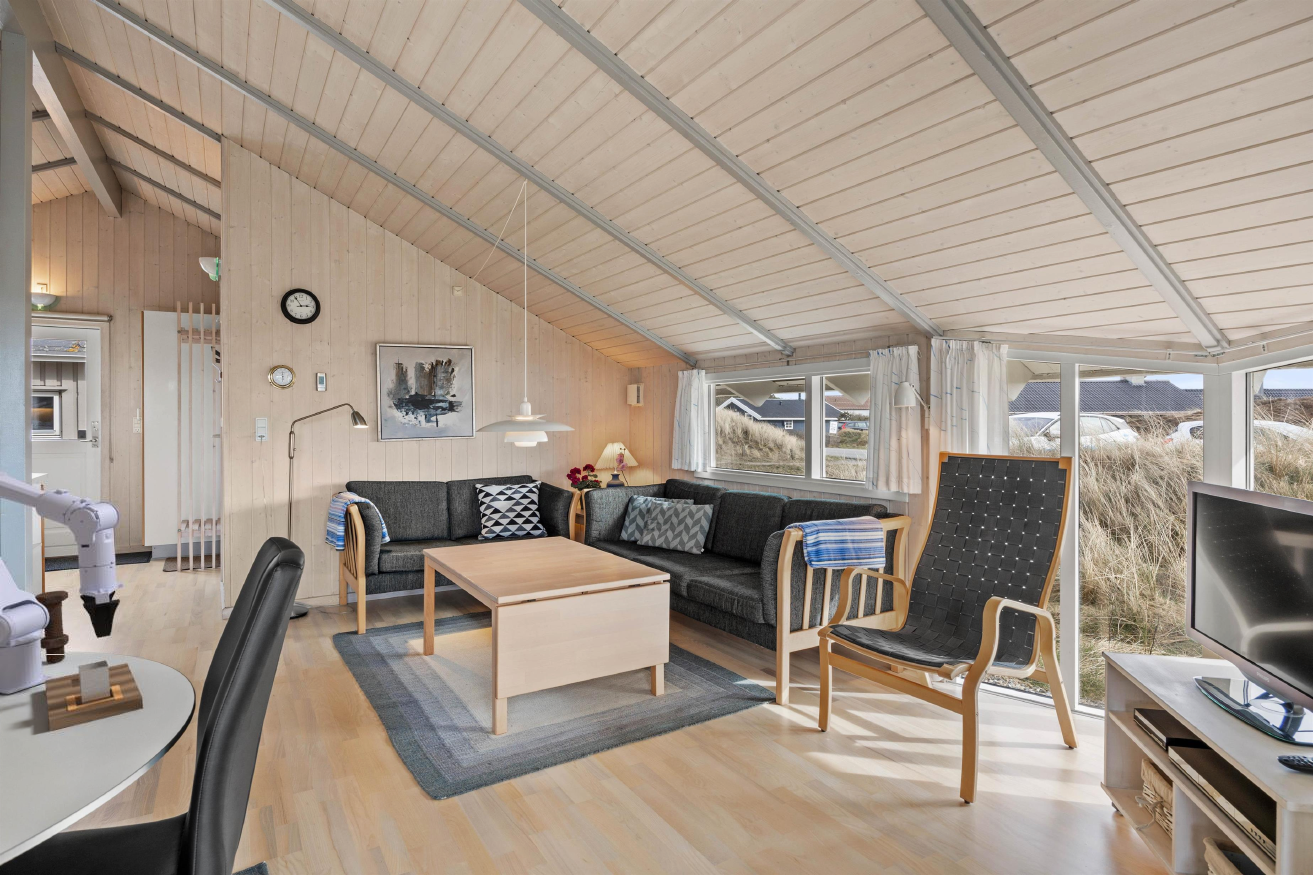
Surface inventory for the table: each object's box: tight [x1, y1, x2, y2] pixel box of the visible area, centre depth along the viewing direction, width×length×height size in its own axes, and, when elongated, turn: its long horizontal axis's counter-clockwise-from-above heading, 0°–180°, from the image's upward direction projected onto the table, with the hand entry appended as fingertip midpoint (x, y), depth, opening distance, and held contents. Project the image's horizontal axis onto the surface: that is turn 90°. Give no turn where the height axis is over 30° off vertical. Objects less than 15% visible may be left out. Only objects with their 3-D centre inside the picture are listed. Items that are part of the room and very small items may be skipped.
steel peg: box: [78, 659, 110, 705], centre depth 132 cm, size 4×4×8 cm
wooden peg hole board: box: [44, 662, 144, 732], centre depth 136 cm, size 24×13×2 cm, turn 42°
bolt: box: [34, 590, 70, 664], centre depth 157 cm, size 6×5×15 cm
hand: (101, 631), depth 143 cm, fingers open, 7 cm apart
